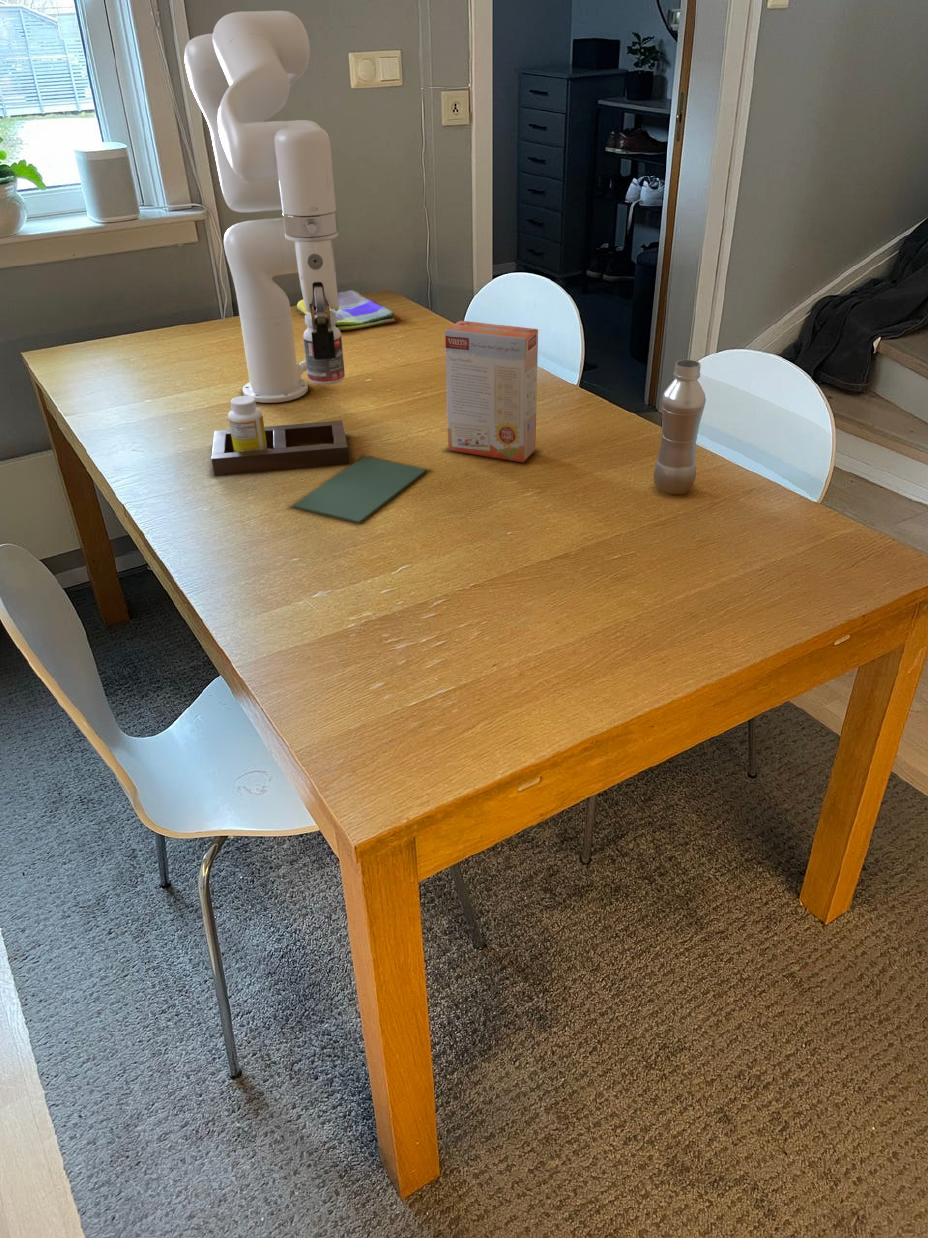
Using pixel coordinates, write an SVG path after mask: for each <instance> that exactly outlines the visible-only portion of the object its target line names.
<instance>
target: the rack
mask: <svg viewBox="0 0 928 1238" xmlns="http://www.w3.org/2000/svg"><path fill="white" fill-rule="evenodd" d="M264 429H265V435H266V442H267V449H266V450H255V451H243V452H234V447H233V442H232V436H231V430H230V429H221V430H214V433H213V439H212V440H213V441H212V449H211V465H212V470H213V475H214V476H215V477H216V476H227V475H238V474H240V475H241V474H249V473H260V472H273V471H282V470H294V469H307V468H317V467H327V466H328V467H329V466H337V465H338V466H339V465H349V464H350V459H349V447H348V441H347V437H346V431H345V427H344V421H343V420H342V419H341V420H329V421H316V422H303V423H294V424H280V425H279V424H278V425H267V426H264ZM329 442H333V443H329ZM318 443H326V444H318ZM306 444H308V445H306ZM309 444H313V445H309ZM296 445H301V446H296ZM302 445H303V446H302ZM288 446H290V447H288ZM271 447H273V448H271ZM229 451H231V452H229ZM232 451H233V452H232Z"/></svg>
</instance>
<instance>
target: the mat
mask: <svg viewBox="0 0 928 1238" xmlns="http://www.w3.org/2000/svg"><path fill="white" fill-rule="evenodd" d="M426 472H427V469H426V468H419V467H417V466H411V465H406V464H402V463H397V462H393V461H388V460H383V459H380V458H379V459H378V458H374V457H369V456H363V457H361V458H360V459H358V460H357V461H355V462H354V463H353V464H351V465H349V466H348V467H346V469H344V470H342V471H341V472H340V473H338V474H337V475H335V476H334V477H332V478H331V479H329V480H327V481H326V482H325V483H323V484H322V485H320V486H319V487H318V488H316V489H315V490H313V491H312V492H310V493H308V494H307V495H306V496H304V497H303V498H302V499H300V500H298V501H297V502H296V503H294V504H293V508H294V509H299V510H302V511H307V512H312V513H315V514H319V515H323V516H327V517H330V518H334V519H335V518H336V519H339V520H344V521H348V522H351V523H356V524H361V523H362V522H364V521H365V520H367V518H369V517H370V516H372V514H374V513H375V512H377V511H378V510H379V509H380V508H382V507H383V506H384V505H385V504H387V503H388V502H389V501H391V500H392V499H393V498H395V496H397V495H399V494H400V493H401V492H403V491H404V490H405V489H406V488H407V487H408V486H410V485H411V484H412V483H414V482H415V481H417V479H419V478H420V477H422V475H424V474H425V473H426Z"/></svg>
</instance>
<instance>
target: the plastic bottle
mask: <svg viewBox="0 0 928 1238" xmlns="http://www.w3.org/2000/svg"><path fill="white" fill-rule="evenodd" d="M701 365H702V364H701V363H700V362H699V361H697V360H695V359H680V360H677V361H676V362H675V364H674V371H673V375H672V376H673V378H674V379H673V381H671V383H669V385H668V386H667V387H666V389H665V390H664V392H663V394H662V396H661V416H662V417H661V418H662V419H661V422H662V423H661V440H660V445H659V451H658V456H657V459H656V462H655V465H654V469H653V484H654V485H655V486H656V488H657V490H659V491H660V492H662V493H665V494H672V495H678V494H684V493H687V492H689V491H690V489H691V488H692V487H693V486H694V484H695V482H696V478H697V464H696V453H697V452H696V451H697V449H696V448H697V440H698V434H699V430H700V429H699V428H700V424H701V420H702V418H703V414H704V409H705V408H706V407H705V406H706V402H707V401H706V400H707V399H706V398H707V397H706V394H705V392H704V390H703V387H702V385H701V383H700V382H699V381H698V380H699V379H700V377H701V368H702V367H701Z"/></svg>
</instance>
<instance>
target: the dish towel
mask: <svg viewBox="0 0 928 1238" xmlns="http://www.w3.org/2000/svg"><path fill="white" fill-rule="evenodd" d="M338 302H339V309H338V311H335V309H331V308H330V306H329V310H330V311H332V312H334V313H336V318H337V322H336V324H335V327H337V328H338V329H339V330H340V331H350V330H357V329H363V328H368V327H374V326H378V325H386V324H391V323H394V322H396V320H395V318H393V317H394V316H395V312H394V311H393V310H391V309H389V308H388V307H385V306H383V305H381V304H378V303H375V302H374V301H372V300H371V299H369V298H366V297H364V296H363V295H361V293H360V292H358V291H355V290H354V289H351V290H346V291H341V292H338ZM296 308H297V310H299V311H300V312H301V313H302V314H304V316H305V315H306V314H308V313H309V312H307V311H306V307H305V303H304V299H300V300H298V302H297V304H296ZM313 309H314V308H313Z"/></svg>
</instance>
